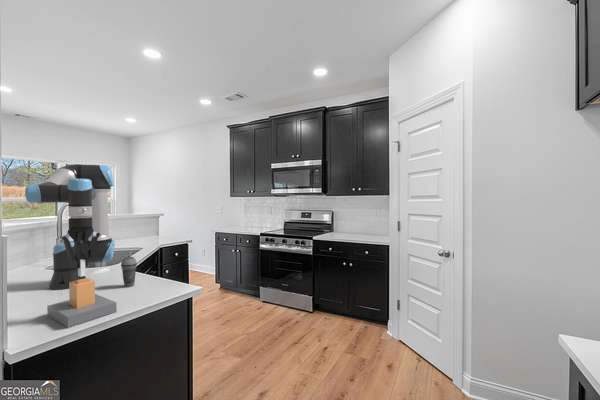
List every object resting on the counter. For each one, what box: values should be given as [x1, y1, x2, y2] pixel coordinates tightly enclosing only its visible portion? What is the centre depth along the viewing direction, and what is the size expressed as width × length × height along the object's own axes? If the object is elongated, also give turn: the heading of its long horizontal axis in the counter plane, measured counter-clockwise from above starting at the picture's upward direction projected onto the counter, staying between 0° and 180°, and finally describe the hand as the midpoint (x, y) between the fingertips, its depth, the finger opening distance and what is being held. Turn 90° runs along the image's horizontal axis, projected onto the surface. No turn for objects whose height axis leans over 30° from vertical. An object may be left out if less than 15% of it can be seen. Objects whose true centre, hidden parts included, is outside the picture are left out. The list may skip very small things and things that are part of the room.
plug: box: [68, 277, 96, 308], centre depth 111 cm, size 7×6×12 cm
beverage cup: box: [120, 247, 138, 288], centre depth 145 cm, size 7×7×20 cm
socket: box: [46, 293, 118, 329], centre depth 111 cm, size 20×16×4 cm
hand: (81, 275), depth 111 cm, fingers closed
